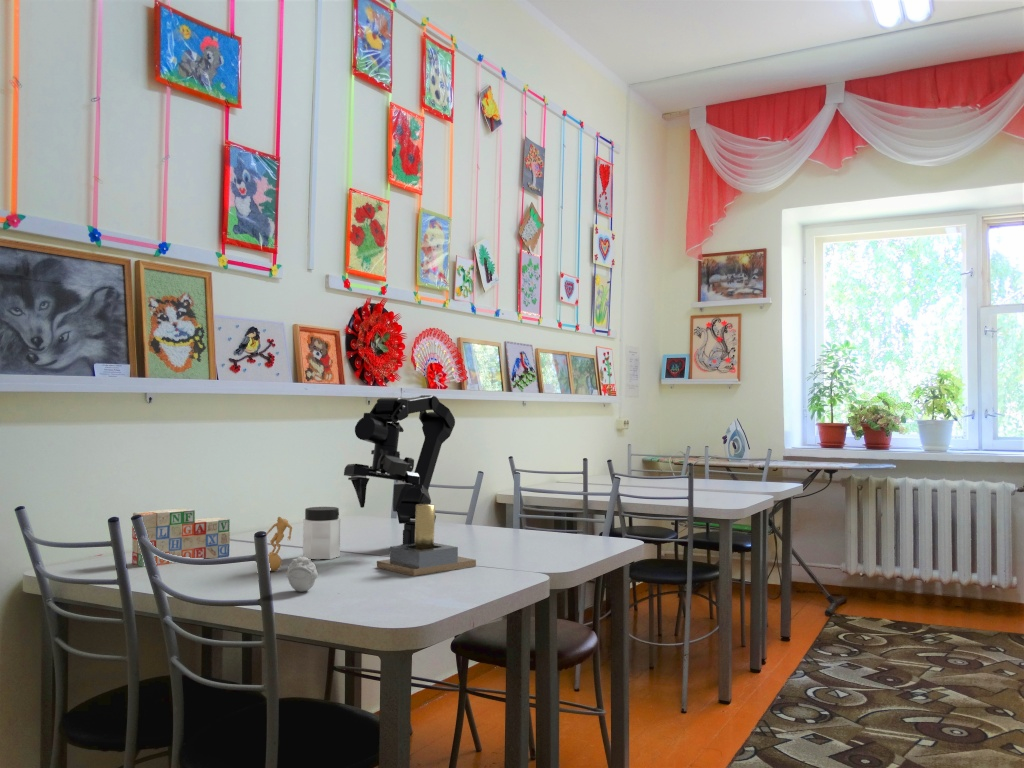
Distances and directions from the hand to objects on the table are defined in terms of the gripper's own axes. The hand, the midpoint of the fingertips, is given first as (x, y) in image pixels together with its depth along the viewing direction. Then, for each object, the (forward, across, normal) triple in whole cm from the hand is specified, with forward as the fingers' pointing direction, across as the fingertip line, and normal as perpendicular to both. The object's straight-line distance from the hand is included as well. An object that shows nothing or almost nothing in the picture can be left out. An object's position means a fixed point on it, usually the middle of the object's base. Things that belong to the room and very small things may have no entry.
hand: (378, 509), depth 207 cm
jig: (+13, +5, -17) cm, 22 cm away
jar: (+13, -9, +10) cm, 18 cm away
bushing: (+12, +3, -18) cm, 22 cm away
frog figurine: (+20, -29, -25) cm, 43 cm away
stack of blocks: (+16, -37, +26) cm, 48 cm away
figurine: (+16, -24, 0) cm, 30 cm away
